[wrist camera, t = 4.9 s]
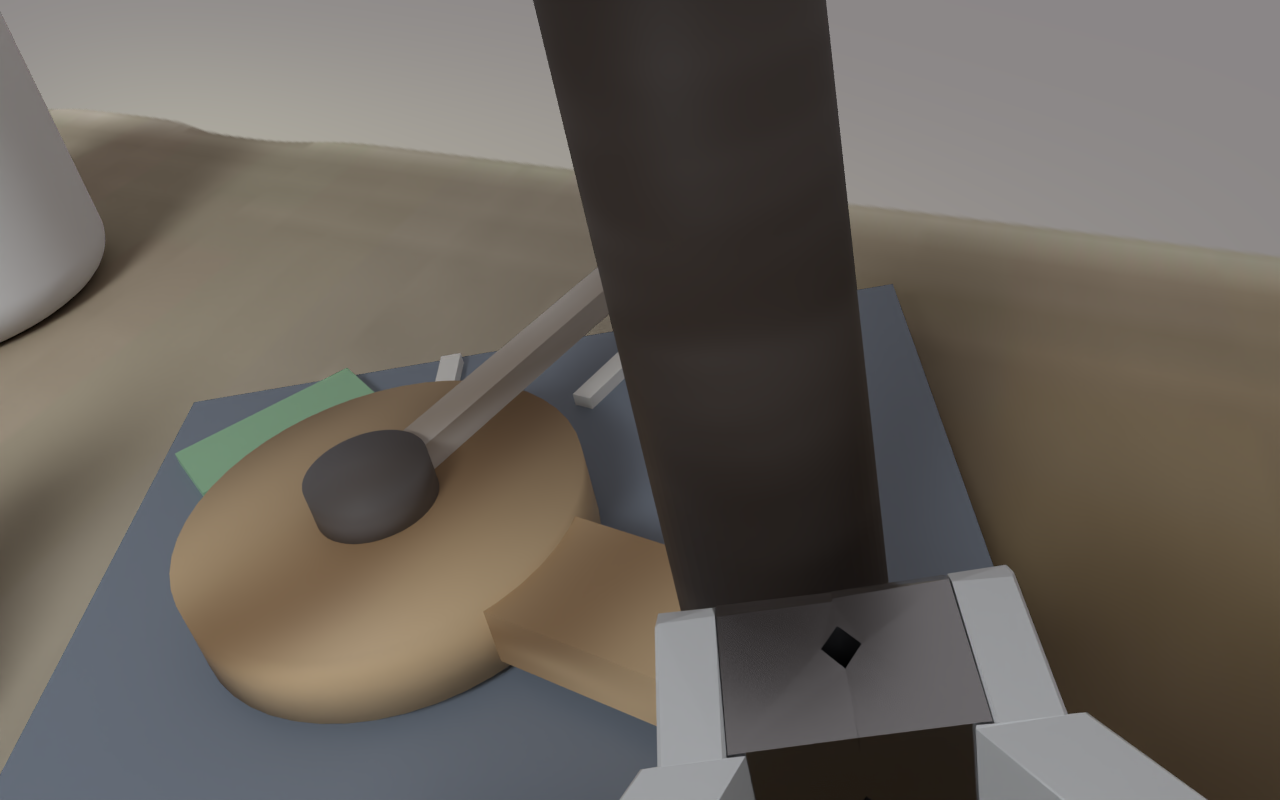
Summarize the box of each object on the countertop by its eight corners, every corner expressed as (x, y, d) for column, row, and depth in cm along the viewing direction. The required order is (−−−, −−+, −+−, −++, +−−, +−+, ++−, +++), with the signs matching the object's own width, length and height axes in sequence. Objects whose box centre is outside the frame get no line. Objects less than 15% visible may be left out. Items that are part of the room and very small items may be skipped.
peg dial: (121, 638, 24) (-350, -136, 16) (505, 322, 31) (315, -316, 23) (759, 976, 16) (453, -252, 8) (1075, 442, 23) (1082, -471, 15)
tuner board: (-146, 1184, 18) (-205, 1134, 17) (212, 439, 32) (189, 392, 32) (1145, 1053, 16) (1150, 988, 15) (896, 325, 31) (891, 273, 30)
